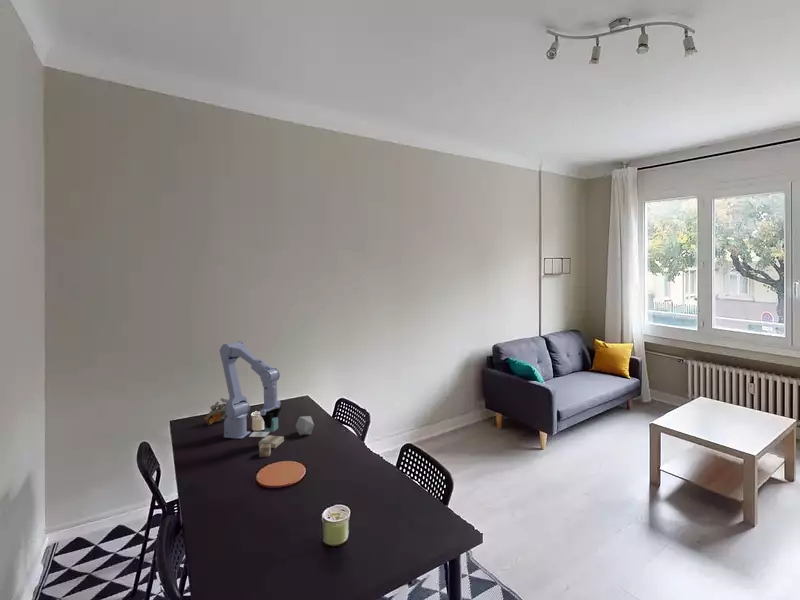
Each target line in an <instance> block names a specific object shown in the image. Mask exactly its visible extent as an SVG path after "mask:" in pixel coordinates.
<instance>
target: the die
mask: <svg viewBox="0 0 800 600" xmlns="http://www.w3.org/2000/svg"><path fill="white" fill-rule="evenodd" d="M314 427H315V424H314V421H313V418H312V416H311V415H309V416H307V415H305V416H298V419H297V422H296V424H295V428H296V430H297V433H298V436H308V435H312V432H313V430H314Z"/></svg>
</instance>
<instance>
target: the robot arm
mask: <svg viewBox="0 0 800 600" xmlns="http://www.w3.org/2000/svg"><path fill="white" fill-rule="evenodd" d="M219 355H220V359H221V364H222V368H223V372H224V377H225V382H226V387H227V392H228V396H229V397H228V399H227V400H228V401H227V402H225V404H226V412H225V413H226V417H225V419H224V423H223V429H224V434H223V438H226V439H227V438H228V439H240V440H241V439H243V438H245V437H246V436H248V435H250V434H251V431H247V427H248V426H247V416H248V413H249V412H250V411H251V405H250V403H249V400H248V398H247V396H245V395H242V390H241V385H240V380H239V376H238V370H237V367H236V362H237V360H238V359H239V358H241V359H243V360H244V361H245V362H246V363H247V364H249V365H251V367H250V368H251V370H253V372H255V374H257V375H258V376H259V378H260V379H259V380H260V382H262V383H261V384H262V388H263V407H262V409H261V410H260V414H259V415H260V417H261V418H262V421H263V424H264V423H265V427H266V428H271V423H272V417H278V418H279V415H280V412H281V410H282V407H281V400H278V381H279V379H280V376H281V374H280V372H279V369H277V367H272V366H270V365H269V364H267V363H266V362H265V361H264V359H262V358H256V357H255V355H254V354H252V352H251V351H249V349H248V348H247V345H246V344H245V342H244V341H241V340H240V341H237V342H230V343H223V344H222V345H221V346H220V348H219Z"/></svg>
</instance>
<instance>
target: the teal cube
mask: <svg viewBox="0 0 800 600" xmlns="http://www.w3.org/2000/svg"><path fill="white" fill-rule="evenodd" d="M263 425H264V427H263V428H264V429H263V432H269V433H271V432H273V433H274V432H275V431H277V430H278V429H279V416H278V417H272V423H271V428H266V427H265V423H264V422H263Z"/></svg>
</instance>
